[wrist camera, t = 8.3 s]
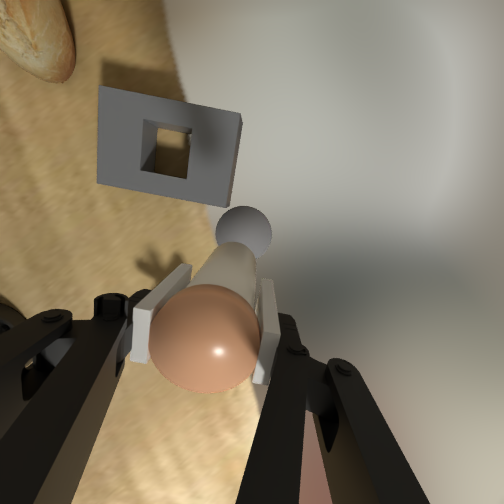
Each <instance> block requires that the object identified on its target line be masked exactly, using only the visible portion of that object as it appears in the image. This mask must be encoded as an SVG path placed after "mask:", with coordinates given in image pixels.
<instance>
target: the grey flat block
mask: <svg viewBox="0 0 504 504" xmlns="http://www.w3.org/2000/svg"><path fill="white" fill-rule="evenodd" d="M242 125H243V122H242V118H241V114H240V113H236V112H231V111H226V110H221V109H216V108H211V107H206V106H201V105H196V104H191V103H186V102H181V101H176V100H171V99H166V98H161V97H156V96H151V95H146V94H141V93H136V92H131V91H126V90H121V89H116V88H111V87H106V86H101V85H99V101H98V149H97V183H98V184H103V185H108V186H113V187H119V188H124V189H129V190H134V191H139V192H145V193H150V194H155V195H160V196H166V197H171V198H176V199H181V200H186V201H192V202H197V203H202V204H207V205H213V206H218V207H223V208H227V207H229V206H230V200H231V193H232V187H233V181H234V175H235V168H236V162H237V156H238V149H239V144H240V137H241V131H242ZM158 128H162V129H167V130H172V131H177V132H182V133H187V134H192V137H191V146H190V154H189V163H188V172H187V179H184V178H179V177H173V176H168V175H163V174H158V173H154V168H155V156H156V143H157V130H158Z"/></svg>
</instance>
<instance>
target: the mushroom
mask: <svg viewBox="0 0 504 504" xmlns="http://www.w3.org/2000/svg"><path fill="white" fill-rule="evenodd" d="M255 288H256V259H255V256H254V254H253V252H252V251H251V250H250V249H249V248H248V247H247V246H246V245H244V244H242V243H239V242H226V243H223V244H221V245H219V246H218V247H217V248H216V249H215V250H214V251H213V253H212V254H211V255H210V257H209V258H208V259H207V260H206V262H205V263H204V264H203V266H202V267H201V268H200V270H199V271H198V272H197V274H196V275H195V276H194V278H193V279H192V280H191V282H190V283H189V284H188V286H187V287H186V288H185V289H182V290H181V291H179V292H177V293H176V294H175V295H173V296H172V297H171V298H170V299H169V300H168V301H167V303H166V304H165V305H164V306H163V307H162V309H161V310H160V311H159V312H158V313H157V315H156V316H155V318H154V319H153V321H152V323H151V325H150V330H149V341H148V349H149V353H150V356H151V359H152V361H153V363H154V364H155V366H156V368H157V369H158V370H159V371H160V373H161V374H162V375H163V376H164V377H165V378H167V379H168V380H169V381H170V382H172V383H174V384H175V385H177V386H179V387H181V388H183V389H186V390H189V391H193V392H198V393H218V392H223V391H226V390H229V389H232V388H234V387H236V386H237V385H239V384H241V383H242V382H243V381H244V380H246V379H247V378H248V377H249V375H250V374H251V373H252V372H253V370H254V369H255V366H256V363H257V359H258V354H259V350H260V327H259V322H258V318H257V316H256V314H255Z"/></svg>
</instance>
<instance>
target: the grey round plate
mask: <svg viewBox="0 0 504 504" xmlns="http://www.w3.org/2000/svg"><path fill="white" fill-rule="evenodd" d="M271 238H272V230H271V226H270V223H269V221H268V219H267V218H266V217H265V215H264V214H263V213H262V212H260V211H259V210H257V209H255V208H252V207H249V206H238V207H234V208H232V209H230V210H228V211H227V212H226V213H224V214H223V215H222V217H221V218H220V220H219V221H218V224H217V227H216V240H217V243H218V246H219V245H221V244H223V243H226V242H239V243H242V244H244V245H246V246H247V247H248V248H249V249H250V250H251V251H252V252H253V254H254V256H255V259H257V258H259V257H260V256H262V255H263V254H264V253H265V251H266V250H267V249H268V247H269V245H270V243H271Z"/></svg>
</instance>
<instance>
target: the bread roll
mask: <svg viewBox="0 0 504 504" xmlns="http://www.w3.org/2000/svg"><path fill="white" fill-rule="evenodd" d="M0 49H1V50H2V51H3V52H4V53H5V54H6V55H7V56H8V57H9V58H10V59H11V60H12V61H13V62H15V63H16V64H17V65H18V66H20V67H21V68H22V69H24V70H25V71H27V72H29V73H30V74H32V75H34V76H36V77H37V78H40V79H41V80H43V81H46V82H51V83H64V81H66V80H67V79H68V78H69V77H70V76H71V74H72V73H73V71H74V68H75V47H74V43H73V38H72V34H71V31H70V28H69V25H68V22H67V19H66V15H65V12H64V9H63V7H62V4H61V1H60V0H0Z"/></svg>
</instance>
